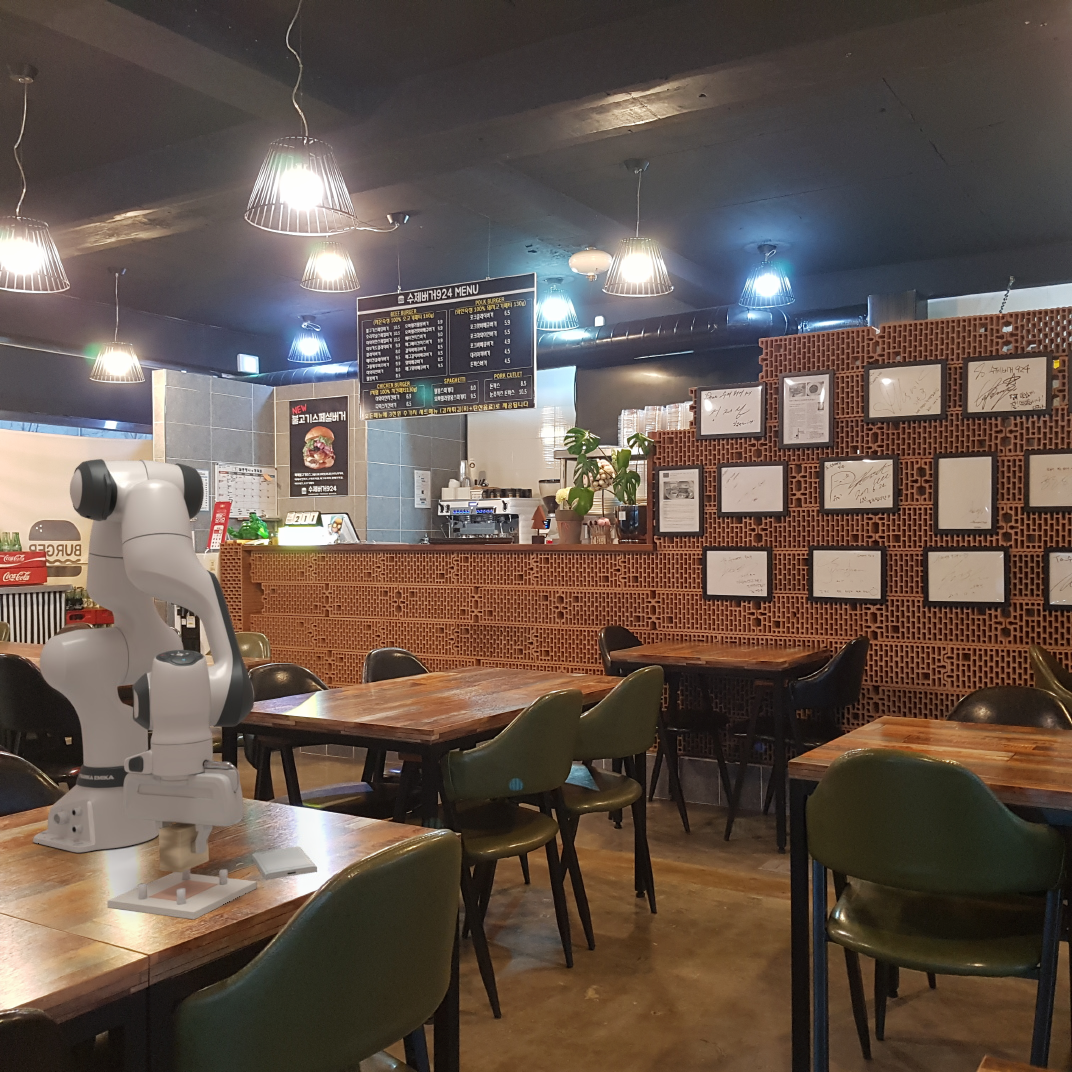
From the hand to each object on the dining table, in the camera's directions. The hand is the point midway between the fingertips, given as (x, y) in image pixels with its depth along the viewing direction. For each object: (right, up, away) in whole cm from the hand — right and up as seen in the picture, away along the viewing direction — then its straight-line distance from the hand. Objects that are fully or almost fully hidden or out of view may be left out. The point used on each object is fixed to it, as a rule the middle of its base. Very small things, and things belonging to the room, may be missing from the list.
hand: (184, 851), depth 151 cm
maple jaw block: (0, -2, 0) cm, 2 cm away
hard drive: (+11, -8, +15) cm, 20 cm away
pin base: (0, -7, 0) cm, 7 cm away
